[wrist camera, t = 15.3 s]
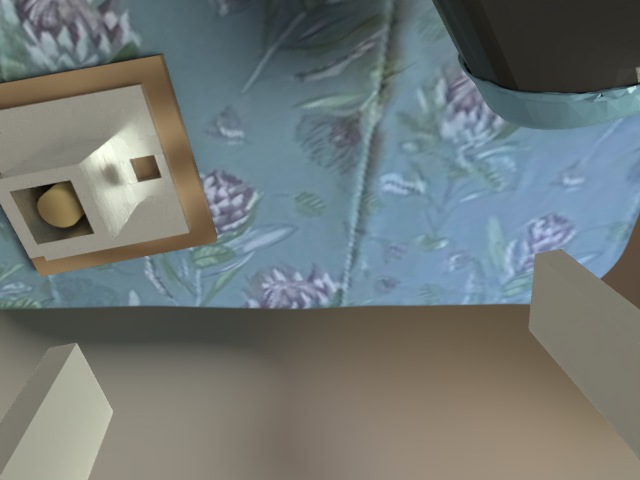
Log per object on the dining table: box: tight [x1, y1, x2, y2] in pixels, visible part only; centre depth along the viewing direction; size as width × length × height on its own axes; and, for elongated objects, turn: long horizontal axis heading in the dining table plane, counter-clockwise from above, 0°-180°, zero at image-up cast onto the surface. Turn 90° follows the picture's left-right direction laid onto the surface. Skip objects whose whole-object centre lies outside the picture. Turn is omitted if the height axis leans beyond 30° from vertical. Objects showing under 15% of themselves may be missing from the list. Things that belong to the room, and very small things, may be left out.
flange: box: [0, 83, 191, 261], centre depth 37 cm, size 14×14×9 cm
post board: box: [0, 54, 217, 277], centre depth 38 cm, size 18×18×10 cm
